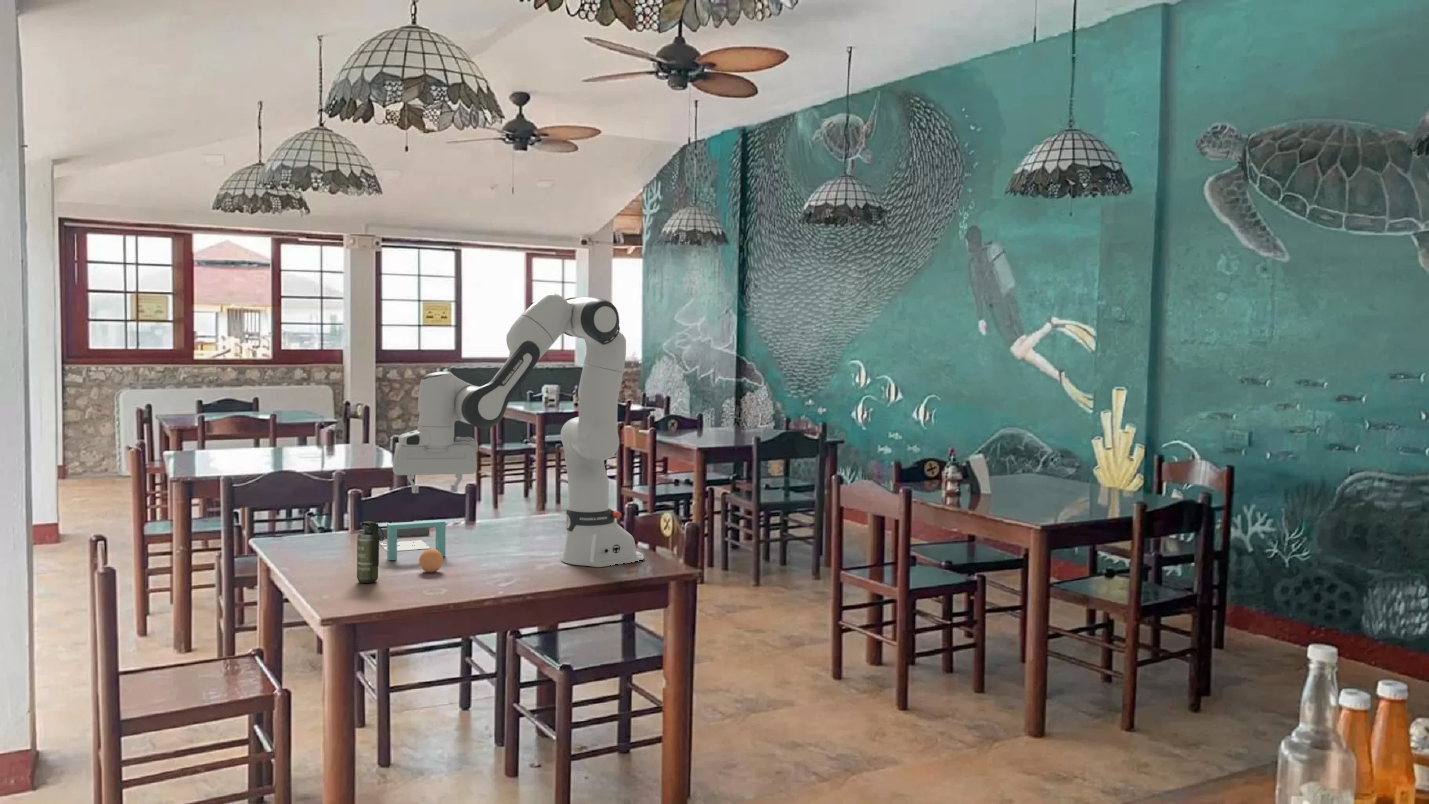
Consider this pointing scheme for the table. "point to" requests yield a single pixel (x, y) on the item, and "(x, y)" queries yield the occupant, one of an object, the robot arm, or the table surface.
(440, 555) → the ball
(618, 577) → the table surface
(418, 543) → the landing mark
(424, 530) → the stopper
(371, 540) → the grenade
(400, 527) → the bridge
